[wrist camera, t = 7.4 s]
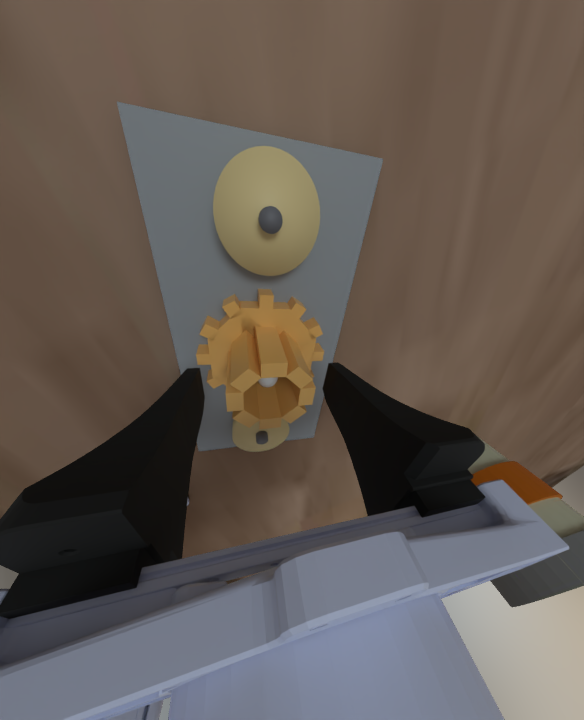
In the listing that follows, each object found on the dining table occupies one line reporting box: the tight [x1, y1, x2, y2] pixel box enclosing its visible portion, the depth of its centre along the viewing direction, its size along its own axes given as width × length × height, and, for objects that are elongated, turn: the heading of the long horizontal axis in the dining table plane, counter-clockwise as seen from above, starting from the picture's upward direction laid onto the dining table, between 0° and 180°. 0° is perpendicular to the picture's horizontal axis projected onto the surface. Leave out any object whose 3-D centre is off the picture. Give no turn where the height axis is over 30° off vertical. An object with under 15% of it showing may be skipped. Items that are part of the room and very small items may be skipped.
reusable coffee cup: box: [468, 437, 584, 607], centre depth 27 cm, size 13×13×15 cm
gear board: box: [117, 102, 383, 452], centre depth 14 cm, size 21×11×5 cm, turn 174°
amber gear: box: [196, 289, 324, 429], centre depth 13 cm, size 8×8×5 cm
